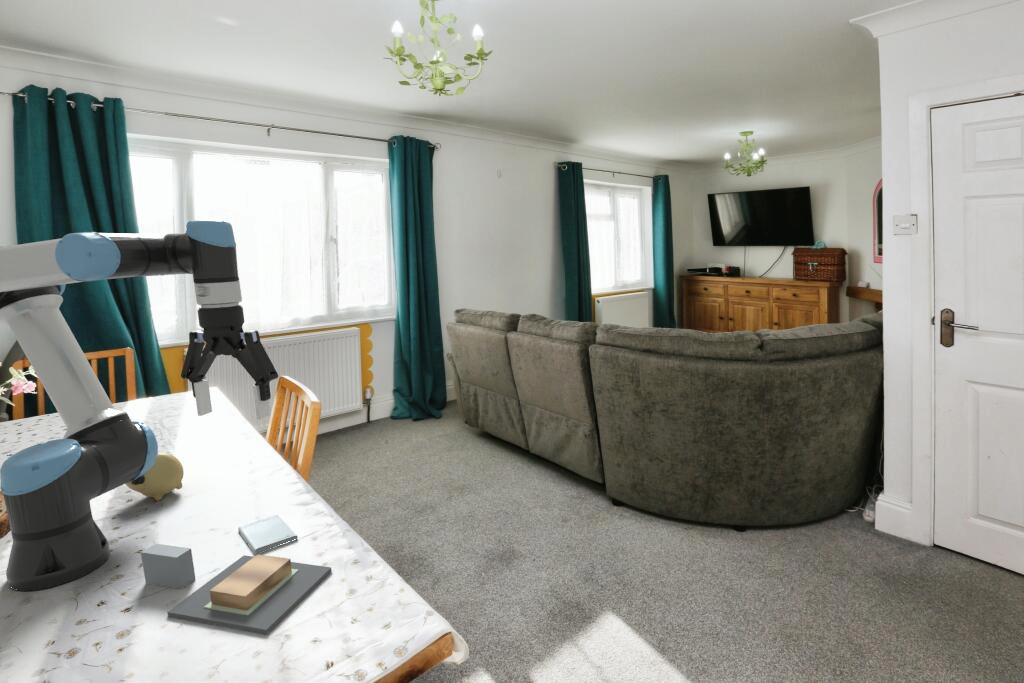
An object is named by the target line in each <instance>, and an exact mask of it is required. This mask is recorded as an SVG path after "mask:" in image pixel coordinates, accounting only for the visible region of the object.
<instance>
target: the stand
mask: <svg viewBox="0 0 1024 683" xmlns="http://www.w3.org/2000/svg"><path fill="white" fill-rule="evenodd" d="M140 557H141V561H142V562H141V563H142V569H143V575H144V581H145V584H148V585H153V586H161V587H165V588H166V587H167V588H172V589H178V590H183V589H184V588H185V587H187V586H189V585H190V584H191V583H192V582H194V581H196V573H195V567H194V566H195V565H194V559H193V558H194V557H193V553H192V547H191V548H189V547H184V546H176V545H171V544H170V545H169V544H161V543H154V544H153V545H150V546H149V547H147V548H145V549H143V550H142V551H140Z"/></svg>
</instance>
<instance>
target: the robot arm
mask: <svg viewBox="0 0 1024 683" xmlns="http://www.w3.org/2000/svg"><path fill="white" fill-rule="evenodd" d="M185 226H186V230H185V232H183V233H181V232H180V233H129V232H128V233H117V232H116V233H115V232H109V233H108V232H96V231H82V232H73V233H72V232H71V233H68V234H65V235H64V236H63V237H62V238H61V237H60V238H56V239H54V238H53V239H49V240H42V241H35V242H28V243H22V244H15V245H14V244H13V245H6V246H0V323H3V324H6V325H8V327H9V328H10V330H11V332H12V333H13V335H14V338H15V339H16V340H17V341H16V342H18V344H19V346H20V348H21V349H22V351H23V353H24V355H25V357H26V359H27V360H28V361H29V363H30V366H31V367H32V369H33V371H34V373H35V374H36V375H37V378H38V379H39V381H40V383H41V385H42V387H43V388H44V390H45V392H46V393H47V395H48V398H49V399H50V401H51V402H52V404H53V406H54V407H55V409H56V412H57V413H58V415H59V416H60V418H61V420H62V422H63V424H64V425H65V428H66V431H65V434H64V436H63V438H59V439H53V440H48V441H45V442H44V443H43V442H42V443H37V444H34V445H31V446H29V447H26V448H23V449H21V450H19V451H18V452H15V453H14V454H12V455H10V456H9V457H8V458H7V459H6V460H4V461H3V463H2V465H1V467H0V490H1V492H2V495H3V500H4V504H5V508H6V513H7V518H8V523H9V528H10V532H11V538H12V544H11V548H10V554H9V558H8V563H7V568H6V571H5V574H6V581H7V586H8V585H9V586H10V587H12V588H14V589H17V590H16V591H19V590H32V591H37V590H38V591H39V590H44V588H45V589H49V588H53V587H57V586H60V585H63V584H66V583H69V582H71V581H74V580H77V579H79V578H81V577H83V576H85V575H87V574H89V573H91V572H93V571H95V570H96V569H98V568H99V567H100V566H102V565H103V564H104V563H105V562H106V561H107V560H108V559H109V557H110V555H111V551H110V550H111V548H110V544H109V540H108V539H107V537H106V536H105V535H104V533H103V532H102V531H101V529H100V527H99V526H98V524H97V522H96V521H95V520H94V518H93V514H92V513H93V512H92V507H91V502H90V501H91V500H93V499H95V498H97V497H99V496H102V495H104V494H106V493H108V492H110V491H112V490H115V489H116V488H119V487H121V486H123V485H126V484H125V483H129V482H132V481H133V480H135V479H137V478H138V477H139V476H141V475H143V474H145V473H146V472H148V471H149V470H150V469H151V468H152V467H153V465H154V463H155V461H156V456H157V455H158V454H159V444H158V440H157V436H156V435H155V433H154V431H153V430H152V428H150V426H148V425H147V424H144V422H141V421H134V420H132V419H131V418H130V416H129V414H128V413H127V412H126V411H123V410H119V409H117V408H115V407H114V405H113V403H112V401H111V400H110V398H109V396H108V394H107V393H106V390H105V388H104V387H103V385H102V384H101V382H100V380H99V377H98V376H97V374H96V373H95V371H94V369H93V367H92V366H91V364H90V362H89V361H88V359H87V356H86V355H85V352H84V351H83V350H82V347H81V346H80V344H79V343H78V341H77V339H76V337H75V335H74V333H73V332H72V330H71V328H70V326H69V325H68V322H67V321H66V318H64V316H63V314H62V312H61V310H60V307H61V305H62V304H63V301H64V298H63V296H62V295H63V294H64V292H65V291H66V290H65V289H66V285H68V284H74V283H75V284H76V283H82V282H94V281H95V282H97V281H103V280H113V279H125V278H138V277H139V278H140V277H153V276H154V277H156V276H169V275H171V276H173V275H188V274H189V275H192V279H193V280H192V282H193V288H194V293H195V294H194V295H195V300H196V304H197V305H198V306H200V307H199V308H198V309H197V316H198V317H197V318H198V325H199V327H200V328H201V329H199V330H194V331H190V332H189V333H188V338H189V344H188V347H187V351H186V355H185V357H184V358H185V359H184V361H183V366H182V369H181V373H180V377H181V378H182V379H186V380H188V381H189V382H190V383H191V388H192V396H193V398H194V399H195V403H196V404H195V405H196V411H197V416H200V417H202V416H205V415H207V414H209V413H212V412H213V409H212V408H213V407H212V400H211V394H210V386H209V379H207V376H206V375H207V373H208V371H209V370H210V368H211V367H212V366H213V365H212V364H213V363H214V362H215V360H216V358H217V356H221V355H224V356H232V358H234V359H236V360H237V361H238V362H239V364H240V365H241V366H242V367H243V368H244V370H245V371H246V372H247V373H248V374H249V376H250V377H251V378H252V379H253V380H254V382H255V383H254V384H253V385H252V388H253V389H252V390H253V400H254V407H255V415H256V419H257V420H261V419H264V418H266V417H268V416H271V411H270V410H271V409H270V402H269V401H270V400H271V387H270V382H272V381H274V380H277V379H278V378H279V374H278V372H277V370H276V368H275V366H274V364H273V362H272V360H271V359H270V357H269V355H268V353H267V351H266V349H265V346H264V345H263V344H262V342H261V338H260V333H259V330H257V329H254V330H249V331H245V332H244V329H243V325H244V323H245V315H244V308H243V307H244V306H242V304H240V303H241V302H242V301H243V297H242V289H241V283H240V277H239V271H238V270H239V269H238V257H237V242H236V240H235V234H234V230H233V227H232V224H231V223H230V222H229V221H227V220H223V219H222V220H220V219H201V220H200V219H199V220H198V219H197V220H189V221H188V222H186V225H185ZM205 343H206V344H205ZM9 586H8V587H9ZM10 587H9V588H10ZM12 588H11V589H12ZM14 589H13V590H14Z"/></svg>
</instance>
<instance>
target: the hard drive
mask: <svg viewBox="0 0 1024 683" xmlns="http://www.w3.org/2000/svg"><path fill="white" fill-rule="evenodd" d="M237 529H238V532H239V534H240V535H241V537H242V536H243V537H242V538H243V539H244V541H245V543H246V544H247V543H248V544H247V545H248V547H249V546H250V547H249V548H250V550H251V551H252V552H253V554H254V556H256V555H257V554H259V555H260V554H261V553H260V552H262V553H264V552H266V551H265V550H267V551H269V550H268V549H270V548H273V547H275V546H278V545H280V544H283V543H286V542H288V541H292V540H294V539H297V538H298V539H299V537H298V535H297V534H296V533H295V531H294V530H293V529H292V528H291V527H290V526H289V525H288V524H287V523H286V522H285V520H284V519H283V518H282V517H281V516H280V515H279V514H274V515H271V516H268V517H265V518H262V519H257V520H256V521H252V522H249V523H246V524H243V525H241V526H239V527H238V528H237ZM273 549H274V548H273ZM270 550H271V549H270ZM263 551H264V552H263Z"/></svg>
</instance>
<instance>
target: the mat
mask: <svg viewBox="0 0 1024 683" xmlns="http://www.w3.org/2000/svg"><path fill="white" fill-rule="evenodd" d="M253 557H254V556H250V555H245V554H244V555H242V556H240V557H239V558H238V559H237V560H236V561H234V562H233V563H232V564H230V565H229V566H227V567H226V568H224V569H223V570H222V571H221V572H220V573H218V574H217V575H215V576H213V578H212V579H210V580H209V581H207V582H206V583H204V584H203V585H202V586H200V587H199V588H197V589H195V591H194V592H192V593H191V594H190V595H188V596H187V597H185V598H184V599H182V600H181V601H180V602H179V603H177V604H175V605H174V606H173V607H171V609H169V610H168V611H167V617H168V618H174V619H175V618H176V619H180V620H186V621H189V622H197V623H201V624H207V625H214V626H219V627H223V628H230V629H233V630H234V629H235V630H238V631H239V630H240V631H245V632H250V633H251V632H252V633H257V634H262V635H268V634H269V633H270V632H271V631H272V630H273V629H275V627H276V626H277V625H279V623H281V621H282V620H284V619H285V617H287V616H288V615H289V613H291V612H292V610H294V609H295V608H296V607H297V606H298V605H299V604H300V603H301V602H302V601H303V600H304V599H305V598H306V597H307V596H308V595H309V594H310V593H311V592H312V591H314V589H315V588H317V587H318V585H319V584H320V583H321V582H323V581H324V579H325V578H327V577H328V576H329V575H330V572H331V571H332V567H330V566H323V565H317V564H308V563H302V562H296V561H295V562H294V561H291V568H292V572H291V573H290V574H289V575H288V576H286V577H285V578H284V579H283V580H282V581H281V582H280V583H278V584H277V585H276V586H275V587H274V588H273V589H272V590H270V591H269V592H268V593H267V594H266V595H265V596H264V597H262V598H261V599H260V600H259V601H258V602H257V603H255V604H254V605H253V606H252V607H251V608H250V609H249V610H241V609H235V608H229V607H223V606H218V605H212V603H211V596H210V590H211V589H212V588H214V587H215V586H216V585H218V584H219V583H220V582H222V581H223V580H224V579H226V578H227V577H228V576H230V575H231V574H232V573H234V572H235V571H236V570H237V569H239V568H240V567H241V566H243V565H244V564H245V563H247V562H248V561H249V560H251V559H252V558H253Z"/></svg>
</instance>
